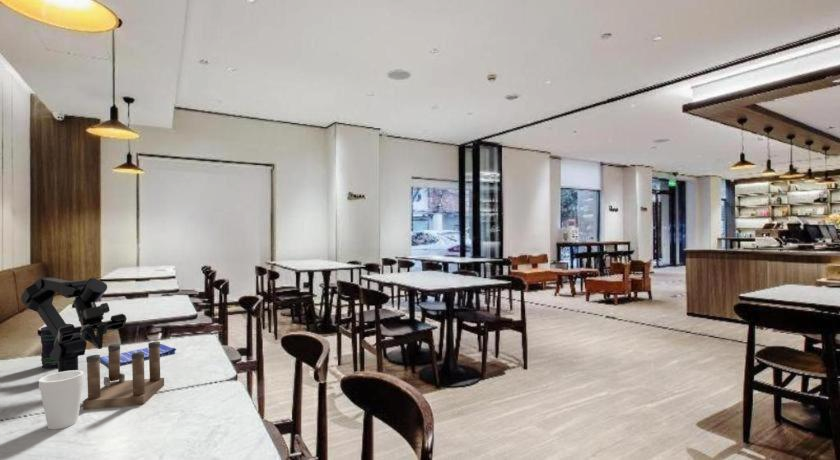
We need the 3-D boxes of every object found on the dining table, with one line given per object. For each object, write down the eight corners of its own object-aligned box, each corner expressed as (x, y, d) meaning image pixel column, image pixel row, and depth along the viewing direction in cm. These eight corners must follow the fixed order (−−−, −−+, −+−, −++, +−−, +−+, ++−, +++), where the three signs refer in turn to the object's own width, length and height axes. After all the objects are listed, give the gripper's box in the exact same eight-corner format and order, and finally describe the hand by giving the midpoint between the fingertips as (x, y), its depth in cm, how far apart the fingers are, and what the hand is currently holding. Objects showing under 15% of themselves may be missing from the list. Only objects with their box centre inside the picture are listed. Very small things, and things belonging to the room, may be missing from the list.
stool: (80, 409, 127) (78, 359, 127) (109, 388, 144) (108, 343, 144) (143, 404, 131) (142, 354, 130) (165, 384, 147) (164, 340, 147)
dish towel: (177, 354, 183) (177, 347, 183) (110, 369, 165) (110, 362, 165) (161, 347, 194) (161, 341, 194) (97, 361, 176) (97, 354, 176)
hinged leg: (106, 379, 141) (106, 345, 141) (117, 376, 144) (117, 343, 143) (110, 382, 139) (110, 348, 139) (122, 379, 142) (122, 345, 142)
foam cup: (93, 418, 121) (91, 372, 121) (55, 434, 113) (54, 383, 112) (69, 414, 124) (68, 369, 124) (31, 429, 116) (30, 380, 115)
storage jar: (72, 359, 177) (71, 322, 177) (76, 364, 170) (75, 326, 170) (39, 365, 170) (38, 327, 169) (42, 371, 163) (41, 331, 163)
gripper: (55, 303, 141) (68, 344, 136) (121, 291, 156) (136, 327, 150) (52, 322, 147) (64, 362, 142) (116, 309, 162) (130, 344, 156)
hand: (100, 348), depth 147 cm, fingers closed
